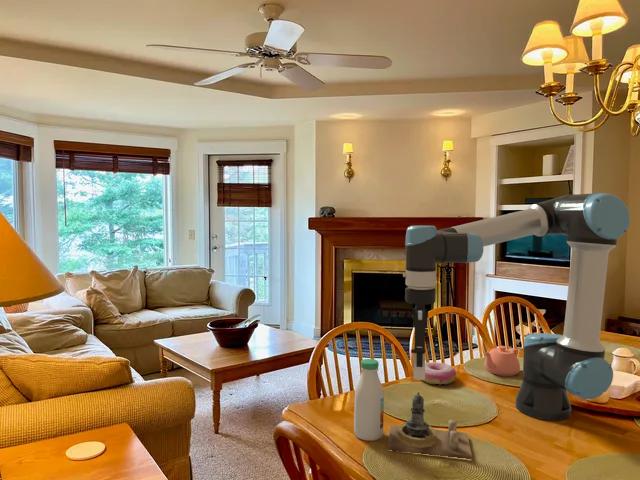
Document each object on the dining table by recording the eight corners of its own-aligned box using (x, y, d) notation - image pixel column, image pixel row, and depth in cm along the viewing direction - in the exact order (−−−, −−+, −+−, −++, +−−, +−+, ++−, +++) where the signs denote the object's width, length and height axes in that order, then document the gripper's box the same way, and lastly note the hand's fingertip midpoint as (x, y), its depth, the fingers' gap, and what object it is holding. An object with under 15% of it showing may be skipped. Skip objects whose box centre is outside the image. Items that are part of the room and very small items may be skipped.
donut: (436, 371, 177) (437, 358, 177) (464, 382, 165) (464, 368, 165) (409, 377, 170) (409, 363, 170) (436, 389, 159) (436, 375, 158)
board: (467, 437, 125) (467, 418, 124) (471, 461, 113) (472, 439, 113) (390, 429, 129) (391, 410, 129) (387, 451, 117) (387, 430, 117)
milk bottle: (375, 444, 121) (376, 367, 119) (348, 436, 125) (349, 362, 123) (387, 432, 127) (389, 359, 126) (362, 425, 131) (363, 354, 130)
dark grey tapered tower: (427, 434, 124) (429, 389, 123) (428, 444, 118) (430, 397, 118) (405, 431, 125) (406, 387, 124) (405, 442, 119) (406, 395, 119)
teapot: (530, 373, 176) (531, 347, 175) (497, 381, 167) (497, 354, 166) (502, 363, 186) (503, 339, 186) (470, 370, 177) (471, 346, 177)
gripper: (406, 279, 132) (405, 353, 133) (403, 295, 108) (402, 386, 109) (434, 280, 130) (433, 355, 132) (437, 296, 106) (435, 388, 108)
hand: (419, 369), depth 120 cm, fingers open, 13 cm apart
